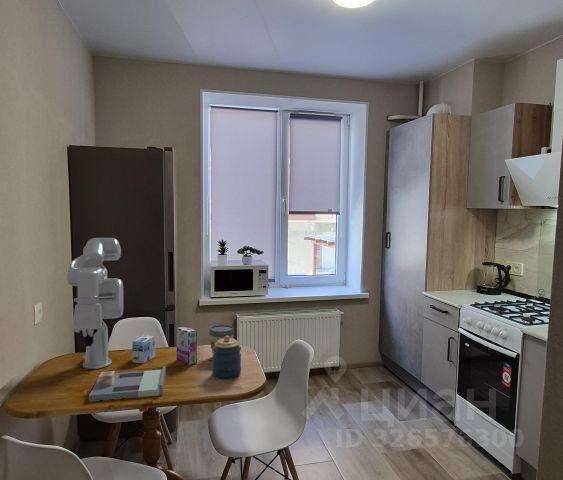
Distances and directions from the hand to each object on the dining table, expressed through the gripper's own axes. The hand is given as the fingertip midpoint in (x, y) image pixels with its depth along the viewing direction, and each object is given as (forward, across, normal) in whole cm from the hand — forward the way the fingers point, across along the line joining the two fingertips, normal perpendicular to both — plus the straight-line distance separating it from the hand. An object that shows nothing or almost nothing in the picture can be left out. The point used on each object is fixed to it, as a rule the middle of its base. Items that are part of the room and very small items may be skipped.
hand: (89, 345), depth 157 cm
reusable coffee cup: (+19, +56, +28) cm, 65 cm away
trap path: (+19, +15, 0) cm, 24 cm away
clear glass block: (+16, +6, 0) cm, 18 cm away
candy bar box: (+19, +38, +25) cm, 50 cm away
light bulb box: (+19, +17, +32) cm, 42 cm away
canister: (+19, +56, +6) cm, 60 cm away
